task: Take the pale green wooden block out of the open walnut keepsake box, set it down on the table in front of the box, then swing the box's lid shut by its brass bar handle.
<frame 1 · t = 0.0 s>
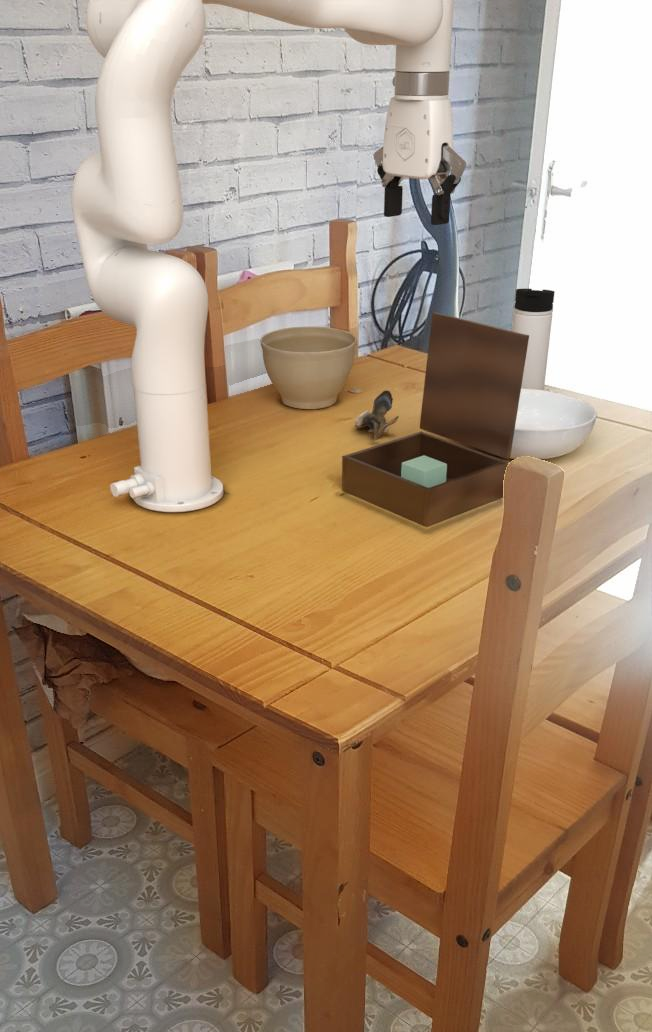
hand: (415, 219, 153), 31 cm above the table, tool pointing down, fingers open, 9 cm apart
planter bowl: (308, 403, 180), on the table
block: (422, 493, 143), point 1 cm above the table, touching keepsake box
keepsake box: (422, 498, 144), on the table
lid: (482, 383, 142), point 14 cm above the table, hinge at 95.0°
travel mug: (522, 410, 177), on the table
serving bowl: (521, 452, 159), on the table
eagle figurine: (375, 436, 165), on the table
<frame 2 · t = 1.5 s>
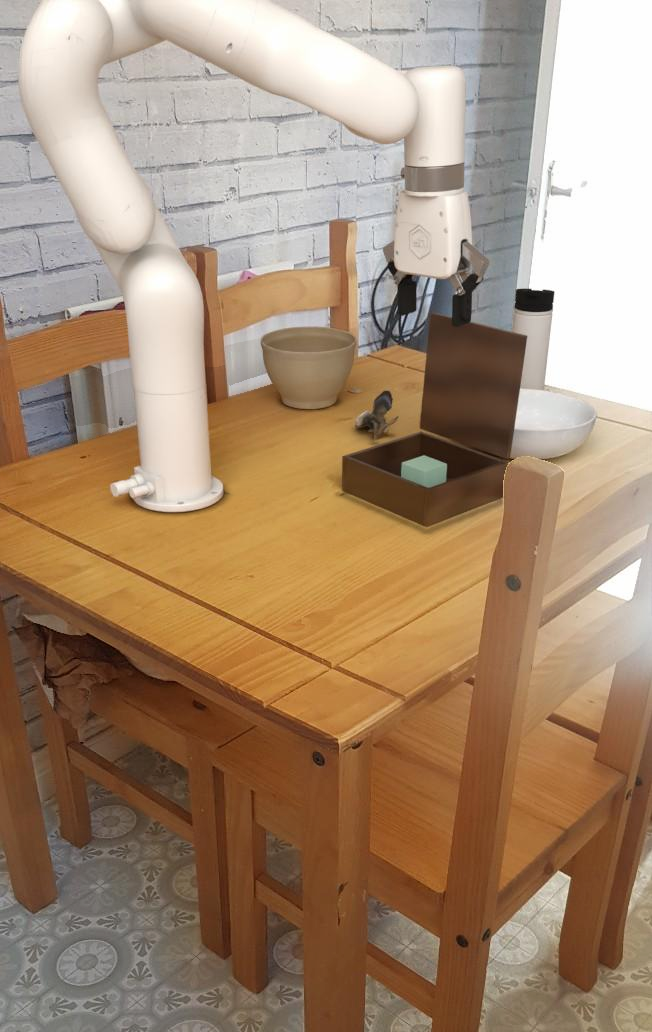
hand: (433, 318, 140), 22 cm above the table, tool pointing down, fingers open, 9 cm apart
lid: (481, 382, 142), point 14 cm above the table, hinge at 93.7°, touching gripper
everything else where it was.
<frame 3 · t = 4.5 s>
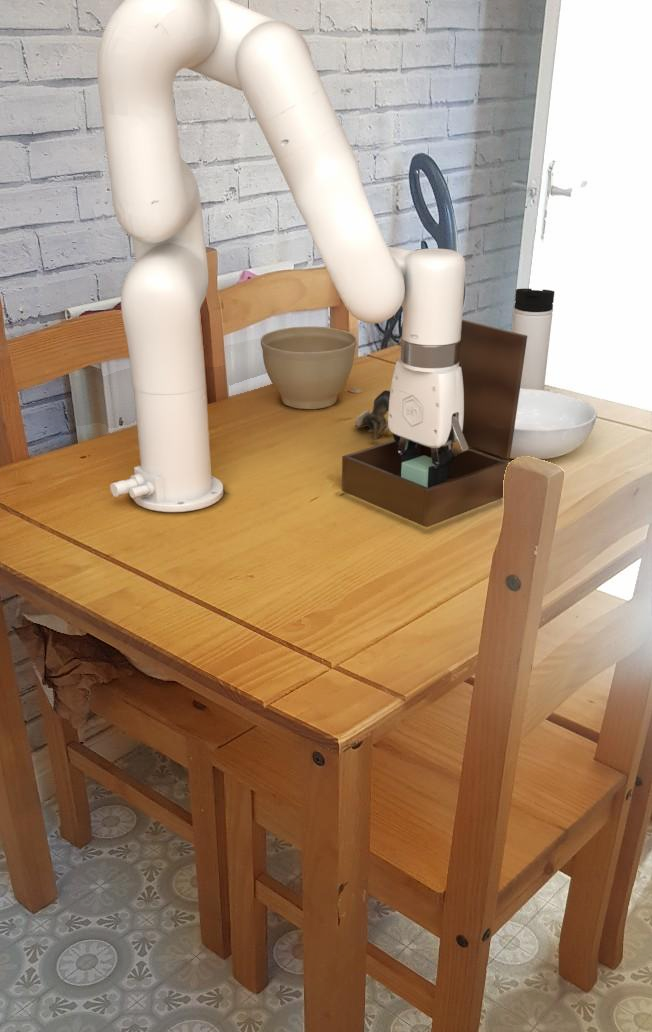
hand: (423, 485, 143), 2 cm above the table, tool pointing down, fingers closed on block, 4 cm apart
block: (422, 493, 143), point 1 cm above the table, touching gripper, keepsake box
lid: (481, 382, 142), point 14 cm above the table, hinge at 93.7°
everything else where it was.
when the fingers open (1 cm above the table, at t = 11.9 s): block stays where it is, on the table.
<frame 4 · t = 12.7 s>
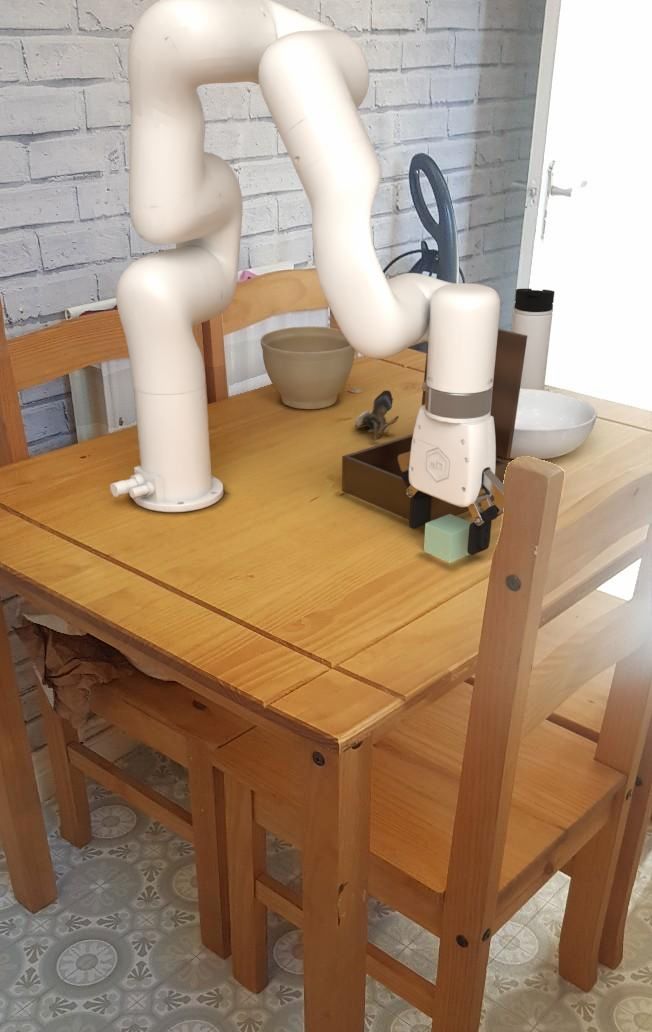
hand: (448, 538, 127), 2 cm above the table, tool pointing down, fingers open, 9 cm apart
block: (448, 556, 128), on the table
everything else where it was.
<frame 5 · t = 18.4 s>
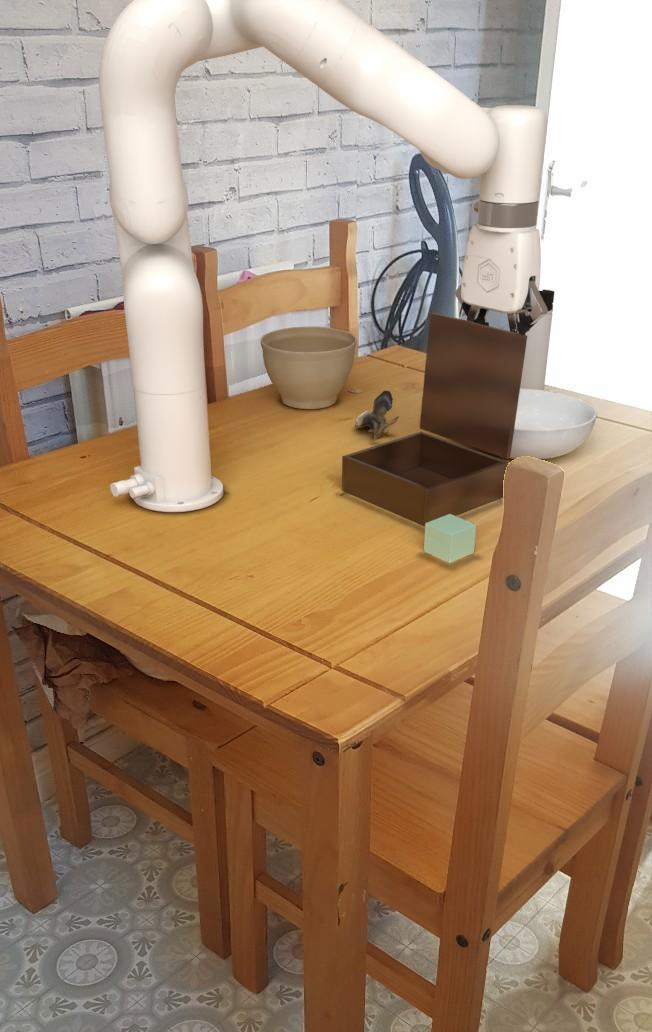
hand: (495, 357, 142), 17 cm above the table, tool pointing down, fingers closed on lid, 5 cm apart
lid: (481, 382, 142), point 14 cm above the table, hinge at 93.7°, touching gripper
everything else where it was.
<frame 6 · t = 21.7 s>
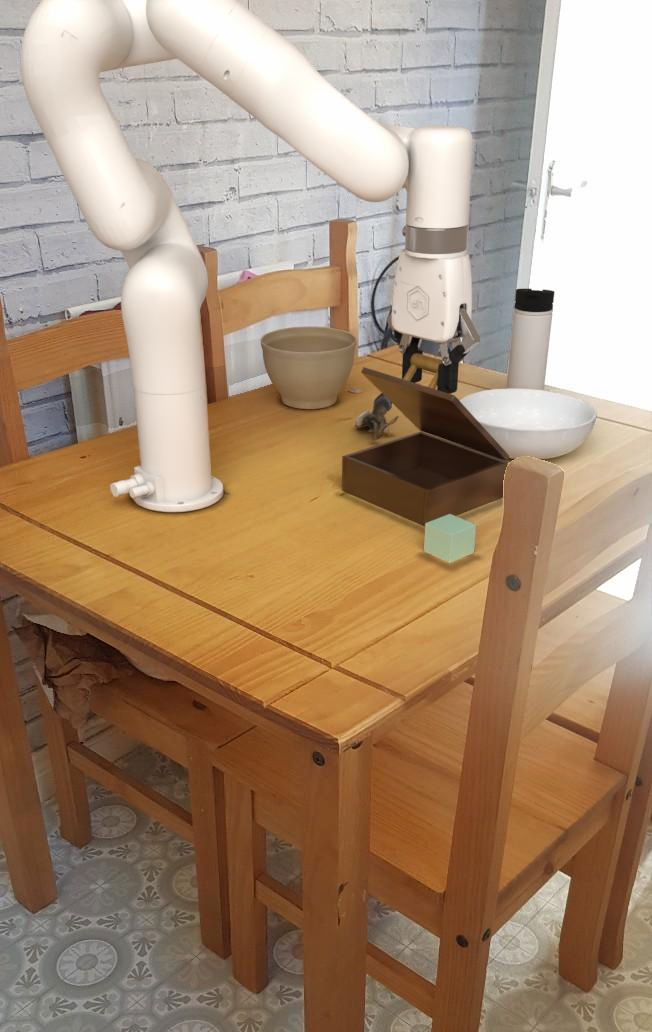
hand: (429, 386, 135), 16 cm above the table, tool pointing down, fingers closed on lid, 5 cm apart
lid: (444, 399, 138), point 13 cm above the table, hinge at 41.8°, touching gripper
everything else where it was.
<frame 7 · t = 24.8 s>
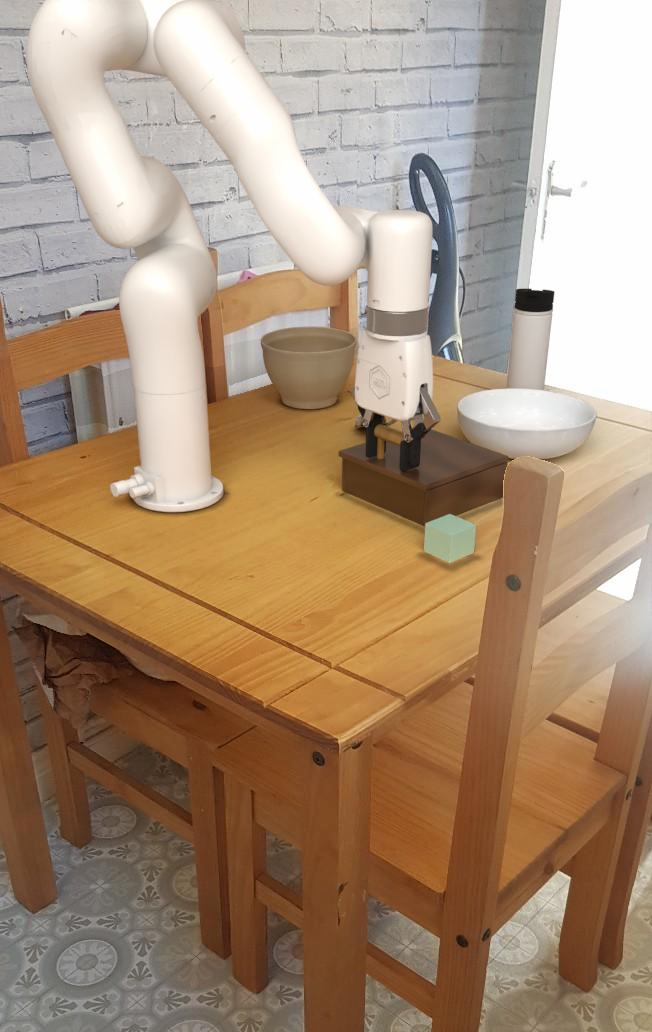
hand: (392, 460, 136), 7 cm above the table, tool pointing down, fingers open, 5 cm apart
lid: (423, 439, 139), point 8 cm above the table, hinge at 0.3°
everything else where it was.
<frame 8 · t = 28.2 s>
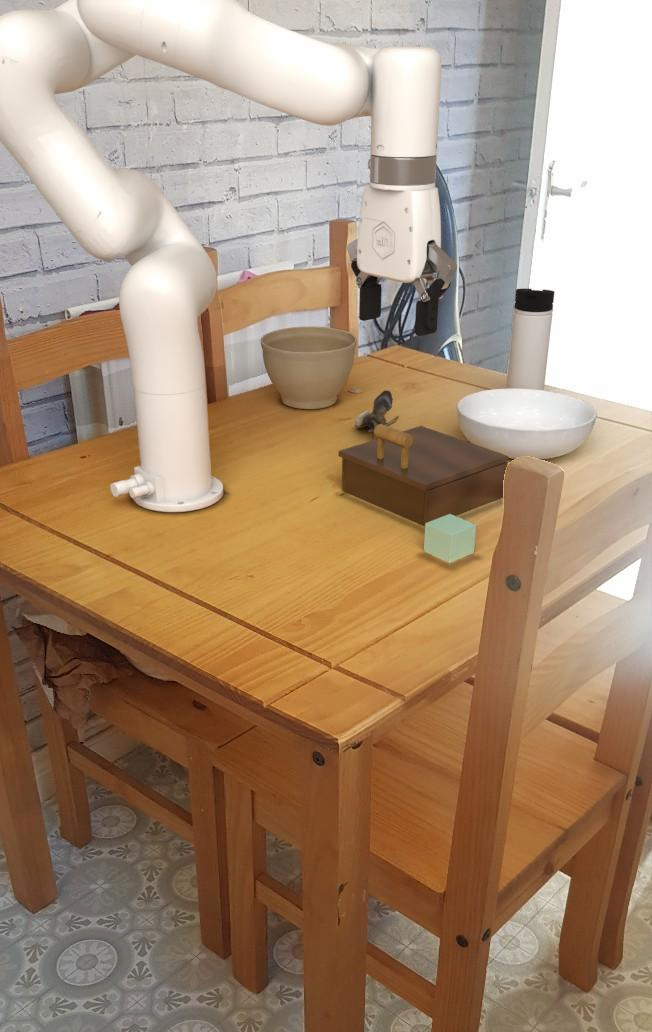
hand: (397, 326, 127), 24 cm above the table, tool pointing down, fingers open, 9 cm apart
nothing on the table moved.
at the end: block inside the target area (0.1 cm from its centre), on the table; block tilted 0°; lid at +0° (first picture: +95°) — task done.
